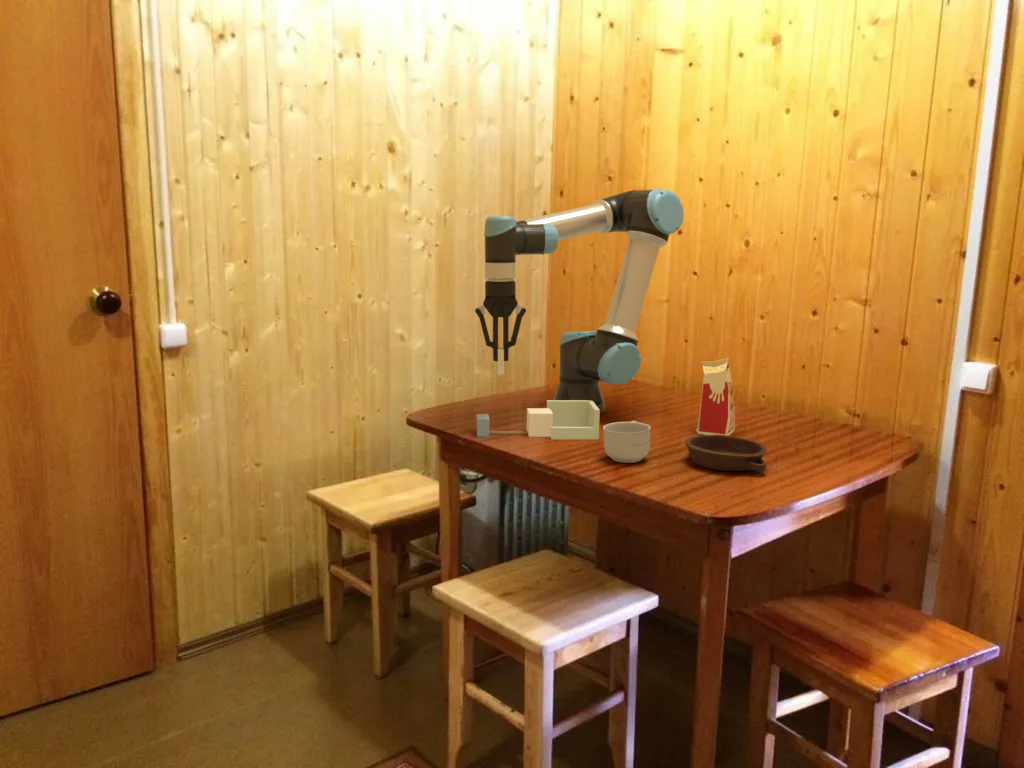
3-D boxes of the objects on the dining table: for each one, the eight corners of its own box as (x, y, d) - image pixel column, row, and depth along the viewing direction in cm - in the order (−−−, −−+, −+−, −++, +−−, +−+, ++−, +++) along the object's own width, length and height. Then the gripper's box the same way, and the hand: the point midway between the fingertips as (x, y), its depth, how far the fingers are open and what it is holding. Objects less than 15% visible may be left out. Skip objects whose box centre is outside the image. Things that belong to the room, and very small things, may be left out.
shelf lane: (591, 428, 214) (592, 400, 213) (598, 439, 203) (599, 410, 201) (546, 428, 213) (546, 400, 212) (551, 439, 202) (552, 409, 201)
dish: (734, 483, 170) (736, 461, 169) (661, 458, 188) (662, 437, 187) (788, 471, 180) (790, 450, 179) (714, 448, 198) (715, 428, 197)
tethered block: (549, 430, 211) (550, 408, 210) (552, 436, 205) (553, 413, 204) (476, 430, 209) (476, 408, 208) (477, 436, 203) (477, 413, 202)
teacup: (637, 469, 179) (639, 434, 177) (593, 461, 184) (595, 427, 183) (661, 455, 190) (663, 422, 189) (619, 447, 196) (620, 415, 194)
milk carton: (734, 430, 215) (739, 356, 211) (728, 438, 207) (733, 361, 203) (700, 426, 219) (704, 353, 215) (692, 433, 211) (697, 358, 207)
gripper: (525, 278, 203) (525, 370, 208) (473, 278, 202) (474, 371, 207) (528, 280, 196) (527, 376, 201) (474, 281, 195) (475, 377, 200)
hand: (500, 373), depth 204 cm, fingers closed
